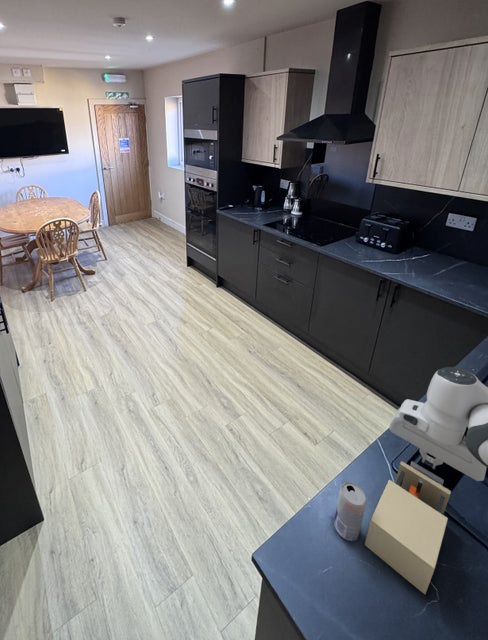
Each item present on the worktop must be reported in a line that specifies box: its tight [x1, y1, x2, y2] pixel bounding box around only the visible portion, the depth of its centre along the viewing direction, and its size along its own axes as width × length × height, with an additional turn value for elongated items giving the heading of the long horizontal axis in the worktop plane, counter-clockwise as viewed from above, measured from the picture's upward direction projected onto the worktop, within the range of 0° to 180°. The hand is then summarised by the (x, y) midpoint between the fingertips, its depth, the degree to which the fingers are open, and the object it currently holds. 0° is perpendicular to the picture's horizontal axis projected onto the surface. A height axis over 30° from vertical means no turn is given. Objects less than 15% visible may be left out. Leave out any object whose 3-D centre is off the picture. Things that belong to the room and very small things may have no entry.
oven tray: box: [394, 460, 452, 515], centre depth 79 cm, size 16×10×7 cm, turn 133°
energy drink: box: [333, 481, 367, 542], centre depth 75 cm, size 5×5×12 cm
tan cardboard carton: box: [364, 479, 449, 595], centre depth 72 cm, size 13×12×9 cm
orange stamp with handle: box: [408, 478, 424, 499], centre depth 79 cm, size 8×3×2 cm
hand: (428, 464), depth 86 cm, fingers closed
